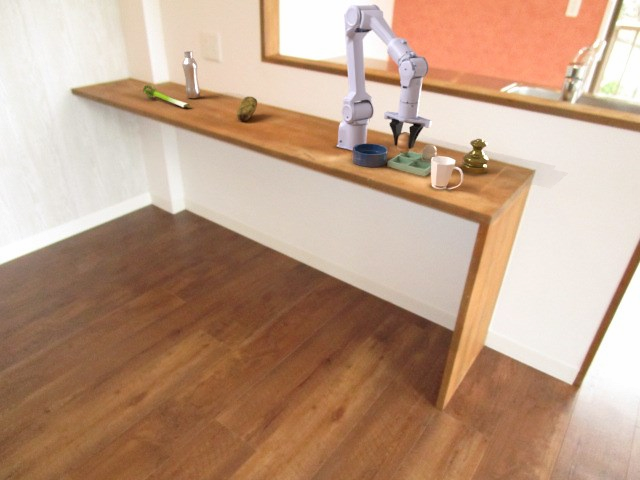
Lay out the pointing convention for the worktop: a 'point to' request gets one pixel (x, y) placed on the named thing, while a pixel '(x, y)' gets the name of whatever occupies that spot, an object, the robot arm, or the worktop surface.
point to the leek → (163, 96)
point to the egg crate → (410, 163)
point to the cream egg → (428, 153)
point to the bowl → (369, 155)
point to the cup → (443, 171)
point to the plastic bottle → (191, 75)
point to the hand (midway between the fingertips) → (403, 146)
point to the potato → (246, 108)
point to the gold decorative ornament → (475, 158)
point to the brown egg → (403, 142)
